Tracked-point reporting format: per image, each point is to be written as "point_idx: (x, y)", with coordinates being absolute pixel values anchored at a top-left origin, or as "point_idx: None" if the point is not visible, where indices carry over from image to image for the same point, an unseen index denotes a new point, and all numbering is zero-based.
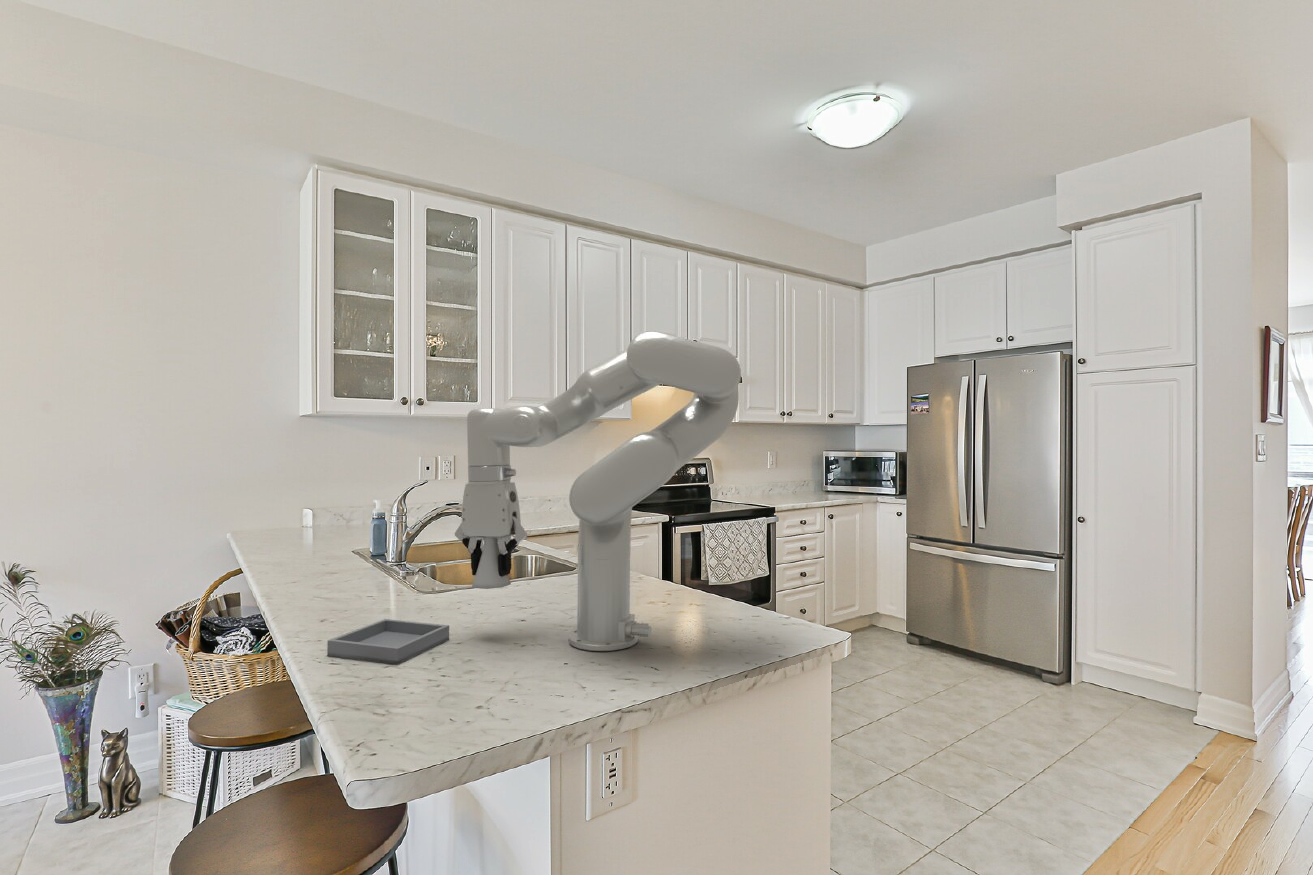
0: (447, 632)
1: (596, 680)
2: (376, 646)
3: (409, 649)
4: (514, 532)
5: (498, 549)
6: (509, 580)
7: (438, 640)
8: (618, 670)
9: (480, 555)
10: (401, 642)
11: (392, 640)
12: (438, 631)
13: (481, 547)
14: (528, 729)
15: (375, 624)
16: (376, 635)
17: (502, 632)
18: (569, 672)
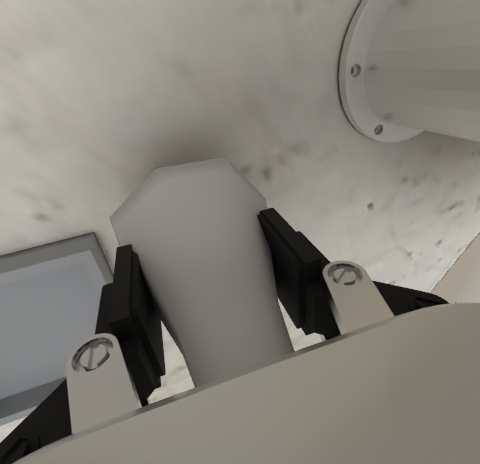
0: (95, 248)
1: (419, 231)
2: None
3: None
4: (448, 317)
5: (283, 322)
6: (266, 208)
7: (108, 270)
8: (440, 188)
9: (150, 332)
10: (44, 314)
11: (9, 320)
12: (107, 283)
13: (120, 349)
14: None
15: None
16: None
17: (158, 117)
18: (384, 229)
